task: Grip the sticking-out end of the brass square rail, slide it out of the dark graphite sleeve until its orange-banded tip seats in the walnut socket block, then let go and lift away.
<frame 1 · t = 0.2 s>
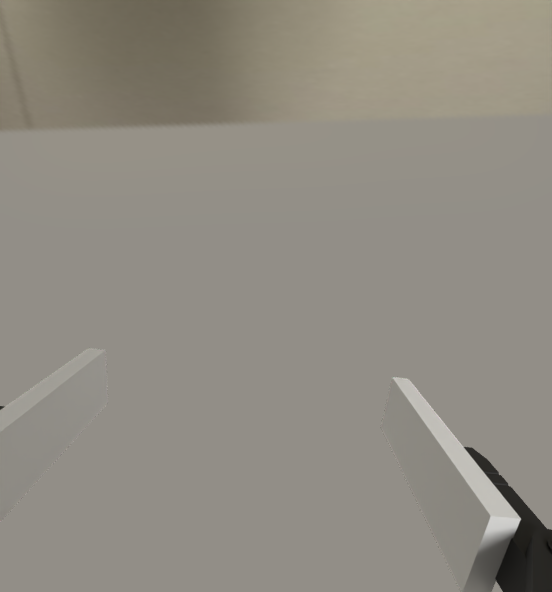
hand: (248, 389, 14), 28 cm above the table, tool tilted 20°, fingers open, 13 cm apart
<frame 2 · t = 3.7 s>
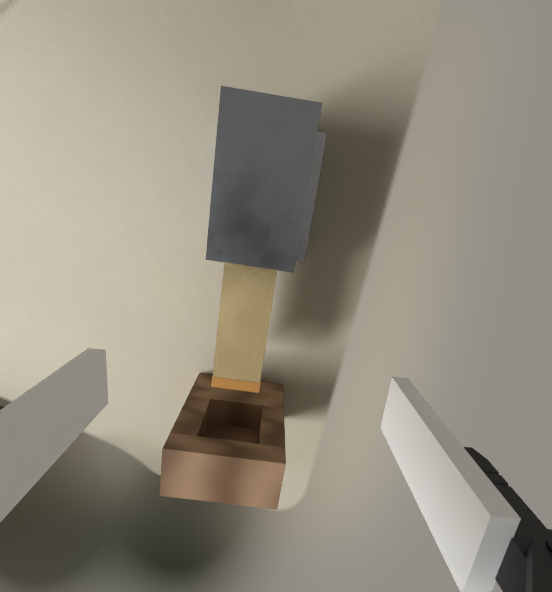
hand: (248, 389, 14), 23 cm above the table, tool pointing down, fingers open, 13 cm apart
sleeve: (265, 195, 33), on the table
rail: (251, 270, 27), point 8 cm above the table, slide at 0.0 cm
socket block: (239, 392, 40), on the table
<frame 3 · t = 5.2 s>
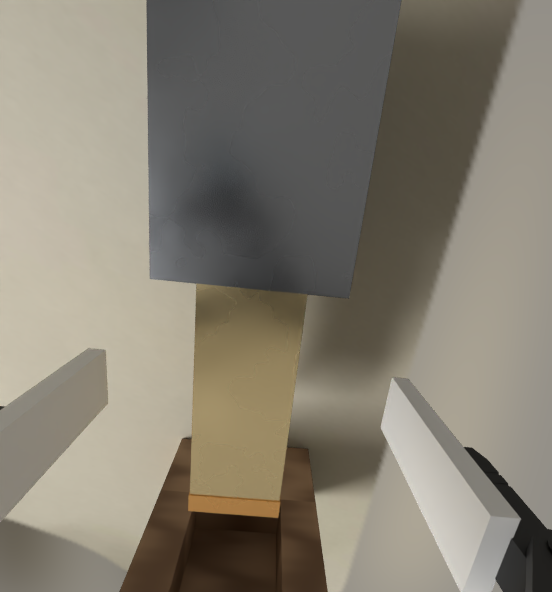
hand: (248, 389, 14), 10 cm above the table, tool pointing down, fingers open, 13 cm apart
sleeve: (271, 158, 20), on the table
rail: (254, 290, 14), point 8 cm above the table, slide at 0.0 cm
socket block: (243, 462, 27), on the table
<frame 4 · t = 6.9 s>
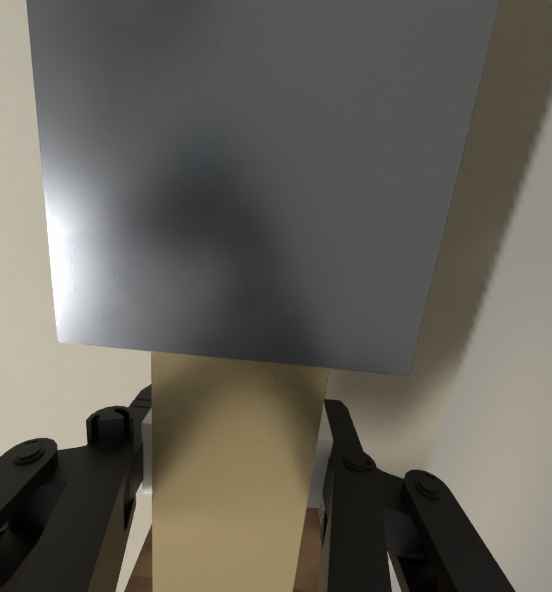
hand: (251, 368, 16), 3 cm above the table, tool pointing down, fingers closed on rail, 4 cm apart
sleeve: (273, 151, 16), on the table
rail: (248, 337, 10), point 8 cm above the table, slide at 0.0 cm, touching gripper
socket block: (239, 522, 22), on the table
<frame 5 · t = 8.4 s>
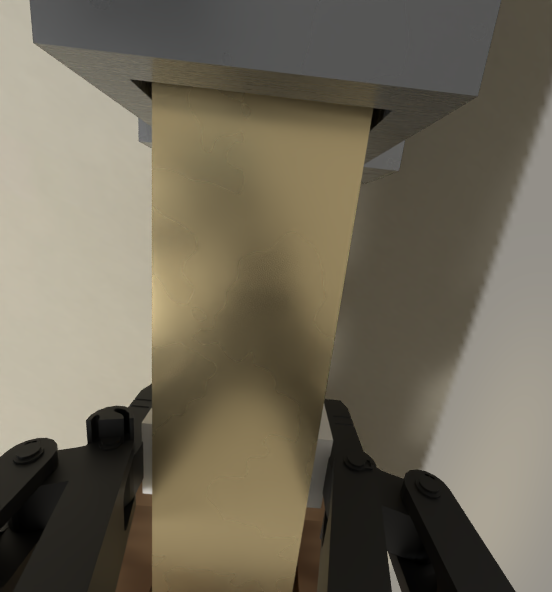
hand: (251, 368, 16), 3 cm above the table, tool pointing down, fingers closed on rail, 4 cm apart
sleeve: (285, 38, 14), on the table
rail: (248, 336, 10), point 8 cm above the table, slide at 5.0 cm, touching gripper
socket block: (244, 466, 21), on the table
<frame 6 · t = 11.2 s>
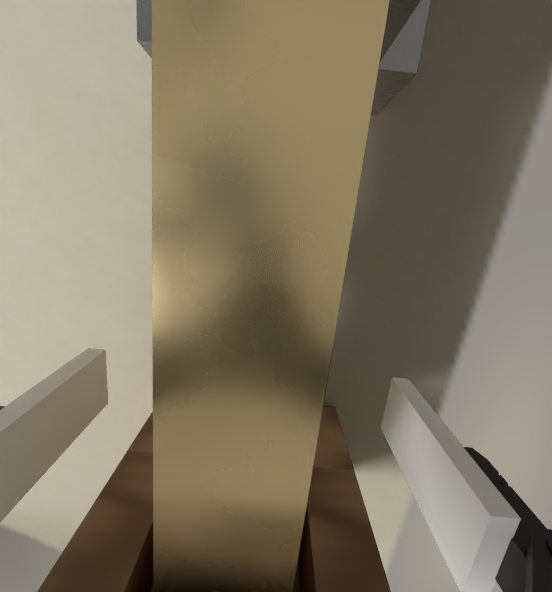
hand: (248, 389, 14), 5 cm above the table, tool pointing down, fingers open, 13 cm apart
rail: (249, 329, 10), point 8 cm above the table, slide at 8.0 cm
socket block: (248, 425, 20), on the table
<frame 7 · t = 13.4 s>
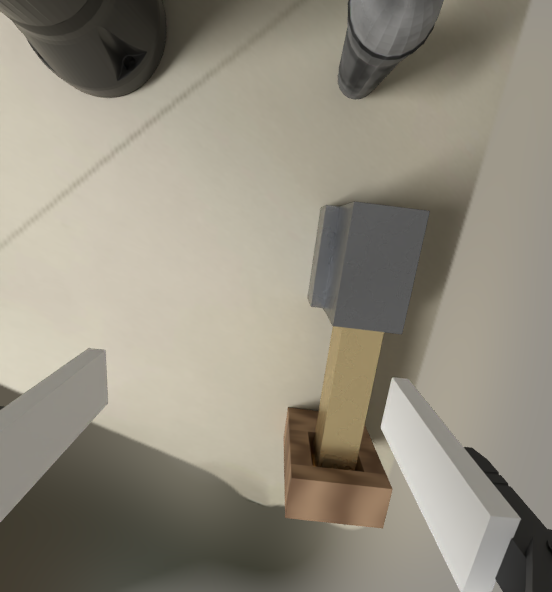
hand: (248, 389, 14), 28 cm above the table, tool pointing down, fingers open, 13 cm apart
sleeve: (351, 259, 40), on the table
rail: (344, 392, 35), point 8 cm above the table, slide at 8.0 cm
beverage cup: (356, 78, 35), on the table
socket block: (322, 423, 45), on the table
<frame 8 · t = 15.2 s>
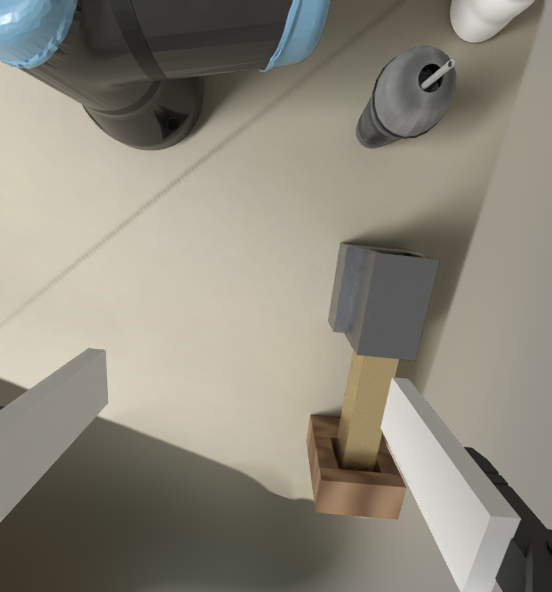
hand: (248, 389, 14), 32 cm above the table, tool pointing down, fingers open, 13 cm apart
sleeve: (367, 286, 45), on the table
water bottle: (475, 12, 36), on the table
rail: (364, 405, 41), point 8 cm above the table, slide at 8.0 cm
beverage cup: (372, 130, 40), on the table
socket block: (340, 427, 51), on the table
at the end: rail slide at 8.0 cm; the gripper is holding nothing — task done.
